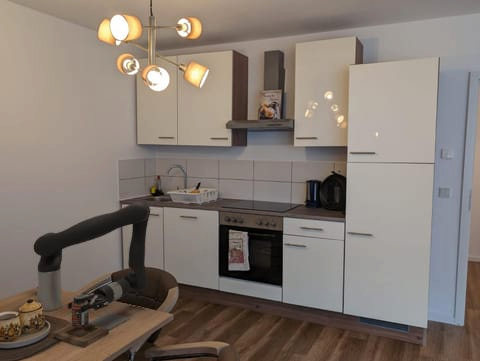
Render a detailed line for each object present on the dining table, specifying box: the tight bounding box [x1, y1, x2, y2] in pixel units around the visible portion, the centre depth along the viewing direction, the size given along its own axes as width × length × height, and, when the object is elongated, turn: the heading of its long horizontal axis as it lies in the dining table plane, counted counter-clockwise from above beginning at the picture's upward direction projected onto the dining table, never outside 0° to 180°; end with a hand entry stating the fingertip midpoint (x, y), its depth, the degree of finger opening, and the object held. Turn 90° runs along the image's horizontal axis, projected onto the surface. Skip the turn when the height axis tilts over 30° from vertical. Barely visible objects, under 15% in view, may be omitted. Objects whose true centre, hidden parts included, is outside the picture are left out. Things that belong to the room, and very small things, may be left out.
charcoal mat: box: [88, 312, 131, 331], centre depth 166 cm, size 12×12×1 cm
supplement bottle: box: [71, 294, 90, 328], centre depth 153 cm, size 6×6×11 cm
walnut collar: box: [52, 323, 110, 348], centre depth 154 cm, size 16×12×2 cm
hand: (74, 308), depth 151 cm, fingers closed on supplement bottle, 6 cm apart
